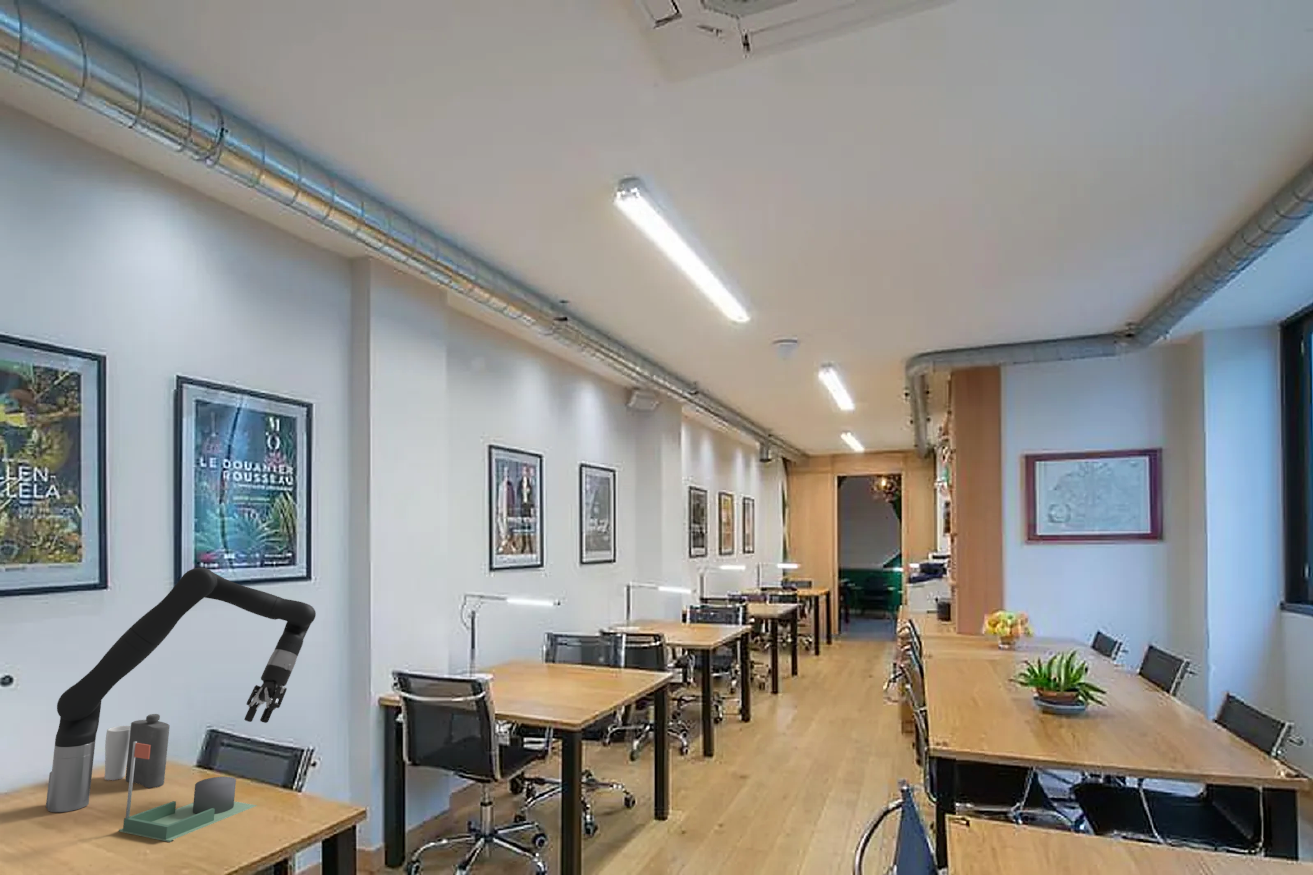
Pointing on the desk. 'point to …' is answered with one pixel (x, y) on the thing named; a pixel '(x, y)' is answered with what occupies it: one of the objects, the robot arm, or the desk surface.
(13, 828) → the desk surface
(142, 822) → the mini golf green
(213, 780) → the grey domed cylinder
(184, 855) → the desk surface
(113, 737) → the drinking glass
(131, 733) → the flask
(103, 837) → the desk surface
